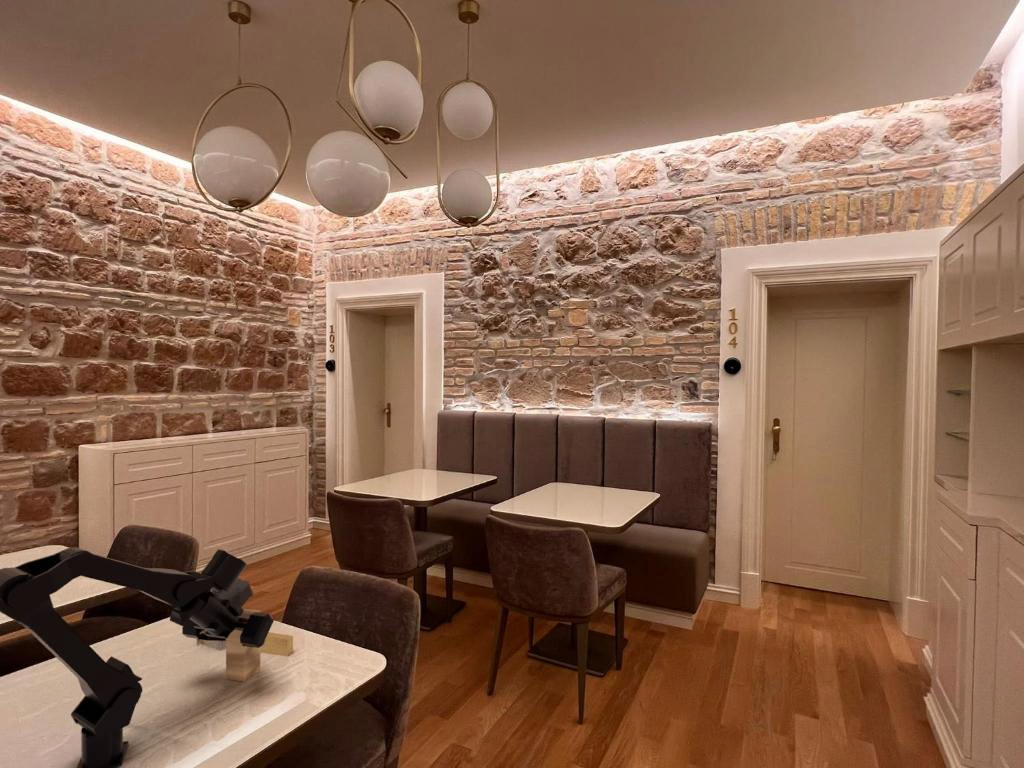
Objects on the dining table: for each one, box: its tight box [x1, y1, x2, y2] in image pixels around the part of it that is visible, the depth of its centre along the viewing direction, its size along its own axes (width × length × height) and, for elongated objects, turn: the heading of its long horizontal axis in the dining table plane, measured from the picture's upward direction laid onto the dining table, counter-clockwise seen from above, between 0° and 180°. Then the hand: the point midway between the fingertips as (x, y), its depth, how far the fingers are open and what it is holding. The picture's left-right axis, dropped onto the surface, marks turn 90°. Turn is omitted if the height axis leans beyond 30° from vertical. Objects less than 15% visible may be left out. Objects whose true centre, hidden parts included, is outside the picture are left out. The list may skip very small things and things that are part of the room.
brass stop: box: [260, 631, 294, 657], centre depth 132 cm, size 2×8×4 cm, turn 75°
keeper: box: [225, 608, 262, 682], centre depth 122 cm, size 5×5×13 cm
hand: (248, 640), depth 123 cm, fingers open, 8 cm apart
